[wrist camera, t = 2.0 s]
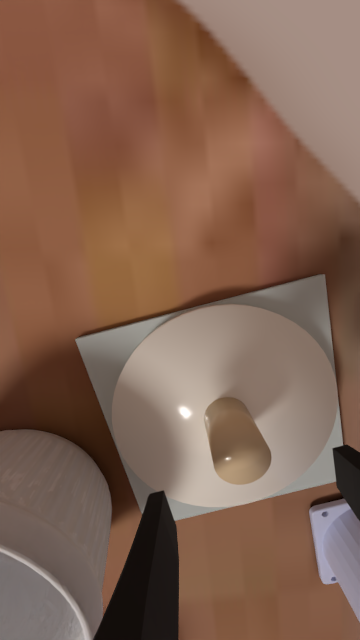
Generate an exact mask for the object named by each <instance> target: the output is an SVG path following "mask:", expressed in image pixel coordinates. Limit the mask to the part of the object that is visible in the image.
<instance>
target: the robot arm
mask: <svg viewBox="0 0 360 640" xmlns="http://www.w3.org/2000/svg"><path fill="white" fill-rule="evenodd" d="M332 450H333V458H334V467H335V475H336V484H337V488H338V489H339V491H340V492H341V494H342V496H343V497H344V499H340V500H336V501H332V502H327V503H323V504H319V505H315V506H312V507H311V508H310V510H309V514H310V521H311V527H312V533H313V539H314V545H315V552H316V558H317V564H318V570H319V576H320V578H321V580H322V582H323V583H324V584H331V583H336V582H338V583H339V585H340V586H341V588H342V590H343V592H344V594H345V596H346V598H347V599H348V601H349V603H350V605H351V607H352V609H353V611H354V612H355V614H356V616H357V618H358V620H359V622H360V452H358V451H356V450H355V449H353V448H352V447H350V446H348V445H343V446H339V447H335V448H332ZM178 612H179V556H178V542H177V529H176V524H175V521H174V518H173V515H172V512H171V509H170V506H169V504H168V501H167V498H166V495H165V492H164V490H163V491H159V492H155V493H150V494H149V496H148V498H147V502H146V505H145V508H144V511H143V514H142V518H141V521H140V524H139V527H138V530H137V532H136V535H135V538H134V541H133V544H132V546H131V549H130V552H129V555H128V557H127V560H126V563H125V565H124V568H123V571H122V573H121V575H120V578H119V580H118V583H117V585H116V588H115V590H114V593H113V595H112V598H111V600H110V602H109V605H108V607H107V609H106V612H105V614H104V616H103V618H102V621H101V623H100V625H99V627H98V630H97V632H96V634H95V636H94V638H93V640H178Z"/></svg>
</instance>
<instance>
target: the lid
mask: <svg viewBox="0 0 360 640" xmlns="http://www.w3.org/2000/svg"><path fill="white" fill-rule="evenodd" d="M337 405H338V393H337V385H336V379H335V375H334V372H333V369H332V366H331V364H330V362H329V360H328V358H327V356H326V354H325V352H324V351H323V350H322V348H321V347H320V346H319V344H318V343H317V342H316V340H315V339H314V338H313V337H312V336H311V335H310V334H309V333H308V332H307V331H305V330H304V329H303V328H301V327H300V326H299V325H297V324H296V323H294V322H293V321H291V320H289V319H287V318H285V317H283V316H281V315H279V314H277V313H274V312H272V311H269V310H266V309H263V308H260V307H256V306H251V305H246V304H233V303H225V304H213V305H207V306H202V307H198V308H195V309H192V310H189V311H186V312H183V313H181V314H179V315H177V316H175V317H173V318H170V319H169V320H167V321H166V322H164V323H163V324H161V325H159V326H158V327H156V328H155V329H154V330H153V331H152V332H151V333H149V334H148V335H147V336H146V337H145V338H144V339H143V340H142V341H141V342H140V344H139V345H138V346H137V347H136V348H135V349H134V351H133V352H132V354H131V355H130V357H129V358H128V360H127V362H126V364H125V366H124V368H123V370H122V372H121V374H120V376H119V378H118V381H117V384H116V388H115V391H114V396H113V402H112V425H113V432H114V436H115V439H116V442H117V446H118V448H119V450H120V452H121V454H122V456H123V458H124V459H125V461H126V462H127V464H128V465H129V467H130V468H131V469H132V470H133V472H134V473H135V474H136V475H137V476H138V477H139V478H140V479H141V480H142V481H143V482H145V483H146V484H147V485H148V486H150V487H151V488H153V489H154V490H156V491H157V492H159V491H163V490H164V492H165V495H166V496H167V497H169V498H171V499H174V500H177V501H179V502H182V503H187V504H191V505H195V506H203V507H230V506H237V505H243V504H248V503H251V502H254V501H258V500H261V499H263V498H266V497H268V496H270V495H273V494H274V493H276V492H278V491H280V490H282V489H284V488H285V487H287V486H288V485H290V484H291V483H292V482H294V481H295V480H296V479H298V478H299V477H300V476H301V475H302V474H303V473H305V472H306V471H307V469H308V468H309V467H310V466H311V465H312V464H313V463H314V462H315V460H316V459H317V458H318V456H319V455H320V454H321V452H322V451H323V449H324V447H325V445H326V443H327V442H328V440H329V437H330V435H331V432H332V430H333V427H334V423H335V419H336V414H337Z"/></svg>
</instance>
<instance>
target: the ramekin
mask: <svg viewBox="0 0 360 640" xmlns="http://www.w3.org/2000/svg"><path fill="white" fill-rule="evenodd" d="M111 515H112V503H111V494H110V491H109V486H108V484H107V482H106V480H105V477H104V476H103V474H102V473H101V471H100V469H99V468H98V466H97V464H96V463H95V462H94V460H93V459H92V458H91V457H90V456H89V455H88V454H87V453H86V452H85V451H84V450H83V449H81V448H80V447H79V446H77V445H76V444H74V443H73V442H71V441H69V440H67V439H65V438H63V437H60V436H58V435H55V434H52V433H49V432H44V431H39V430H28V429H19V430H4V431H0V640H93V638H94V636H95V634H96V632H97V630H98V627H99V625H100V623H101V621H102V616H103V600H102V587H103V580H104V573H105V566H106V559H107V551H108V543H109V535H110V527H111Z"/></svg>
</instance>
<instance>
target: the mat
mask: <svg viewBox="0 0 360 640" xmlns="http://www.w3.org/2000/svg"><path fill="white" fill-rule="evenodd" d="M225 303H233V304H246V305H251V306H256V307H260V308H263V309H266V310H269V311H272V312H274V313H277V314H279V315H281V316H283V317H285V318H287V319H289V320H291V321H293V322H294V323H296V324H297V325H299V326H300V327H301V328H303V329H304V330H305V331H307V332H308V333H309V334H310V335H311V336H312V337H313V338H314V339H315V340H316V342H317V343H318V344H319V346H320V347H321V348H322V350H323V351H324V352H325V354H326V356H327V358H328V360H329V362H330V364H331V366H332V369H333V372H334V375H335V379H336V374H335V364H334V355H333V346H332V336H331V327H330V318H329V308H328V299H327V290H326V280H325V274H319V275H315V276H311V277H308V278H304V279H300V280H296V281H292V282H288V283H285V284H281V285H277V286H273V287H269V288H265V289H262V290H258V291H254V292H250V293H246V294H242V295H239V296H235V297H231V298H227V299H223V300H219V301H216V302H212V303H208V304H204V305H200V306H196V307H193V308H189V309H185V310H181V311H177V312H173V313H170V314H166V315H162V316H158V317H154V318H150V319H147V320H143V321H139V322H135V323H131V324H127V325H124V326H120V327H116V328H112V329H108V330H104V331H101V332H97V333H93V334H89V335H85V336H81V337H78V338H76V339H75V341H76V343H77V346H78V348H79V351H80V354H81V356H82V359H83V362H84V364H85V367H86V369H87V372H88V375H89V377H90V380H91V382H92V385H93V388H94V390H95V393H96V396H97V398H98V401H99V403H100V406H101V409H102V411H103V414H104V416H105V419H106V422H107V424H108V427H109V430H110V432H111V435H112V437H113V440H114V443H115V445H116V448H117V450H118V453H119V456H120V458H121V461H122V464H123V466H124V469H125V471H126V474H127V477H128V479H129V482H130V484H131V487H132V490H133V492H134V495H135V497H136V500H137V503H138V505H139V508H140V511H141V513H142V514H143V511H144V508H145V505H146V502H147V498H148V496H149V494H150V493H155V492H157V491H156V490H154V489H153V488H151V487H150V486H148V485H147V484H146V483H145V482H143V481H142V480H141V479H140V478H139V477H138V476H137V475H136V474H135V473H134V472H133V470H132V469H131V468H130V467H129V465H128V464H127V462H126V461H125V459H124V458H123V456H122V454H121V452H120V450H119V448H118V446H117V442H116V439H115V436H114V432H113V425H112V402H113V396H114V391H115V388H116V384H117V381H118V378H119V376H120V374H121V372H122V370H123V368H124V366H125V364H126V362H127V360H128V358H129V357H130V355H131V354H132V352H133V351H134V349H135V348H136V347H137V346H138V345H139V344H140V342H141V341H142V340H143V339H144V338H145V337H146V336H147V335H148V334H149V333H151V332H152V331H153V330H154V329H155V328H156V327H158V326H159V325H161V324H163V323H164V322H166V321H167V320H169V319H170V318H173V317H175V316H177V315H179V314H181V313H183V312H186V311H189V310H192V309H195V308H198V307H202V306H207V305H213V304H225ZM336 385H337V383H336ZM337 393H338V392H337ZM339 446H343V439H342V430H341V421H340V411H339V402H338V405H337V414H336V419H335V423H334V427H333V430H332V432H331V435H330V437H329V440H328V442H327V443H326V445H325V447H324V449H323V451H322V452H321V454H320V455H319V456H318V458H317V459H316V460H315V462H314V463H313V464H312V465H311V466H310V467H309V468H308V469H307V471H306V472H305V473H303V474H302V475H301V476H300V477H299V478H298V479H296V480H295V481H294V482H292V483H291V484H290V485H288V486H287V487H285V488H284V489H282V490H280V491H278V492H276V493H274V494H273V495H270V496H268V497H266V498H270V497H274V496H278V495H283V494H287V493H291V492H295V491H299V490H303V489H307V488H311V487H315V486H319V485H324V484H328V483H332V482H336V475H335V467H334V458H333V450H332V448H335V447H339ZM166 498H167V501H168V504H169V506H170V509H171V512H172V515H173V518H174V521H176V520H180V519H184V518H188V517H192V516H196V515H200V514H205V513H209V512H213V511H217V510H221V509H225V508H229V507H203V506H195V505H191V504H187V503H182V502H179V501H177V500H174V499H171V498H169V497H167V496H166ZM266 498H263V499H266ZM261 500H262V499H261ZM230 507H233V506H230Z"/></svg>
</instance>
